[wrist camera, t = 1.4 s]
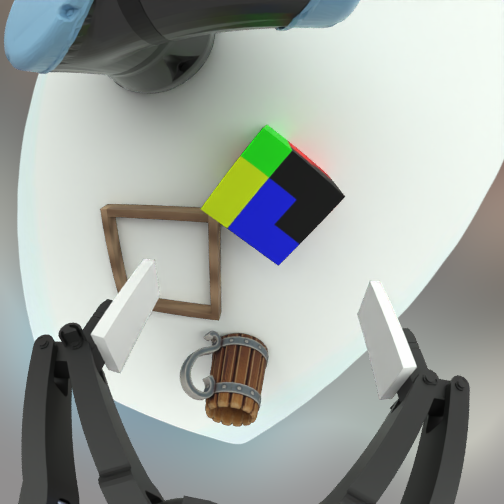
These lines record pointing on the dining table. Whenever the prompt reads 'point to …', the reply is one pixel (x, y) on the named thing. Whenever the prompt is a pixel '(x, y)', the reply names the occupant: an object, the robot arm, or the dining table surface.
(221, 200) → the puzzle toy
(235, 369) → the mug
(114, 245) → the square wooden frame
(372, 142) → the dining table surface
